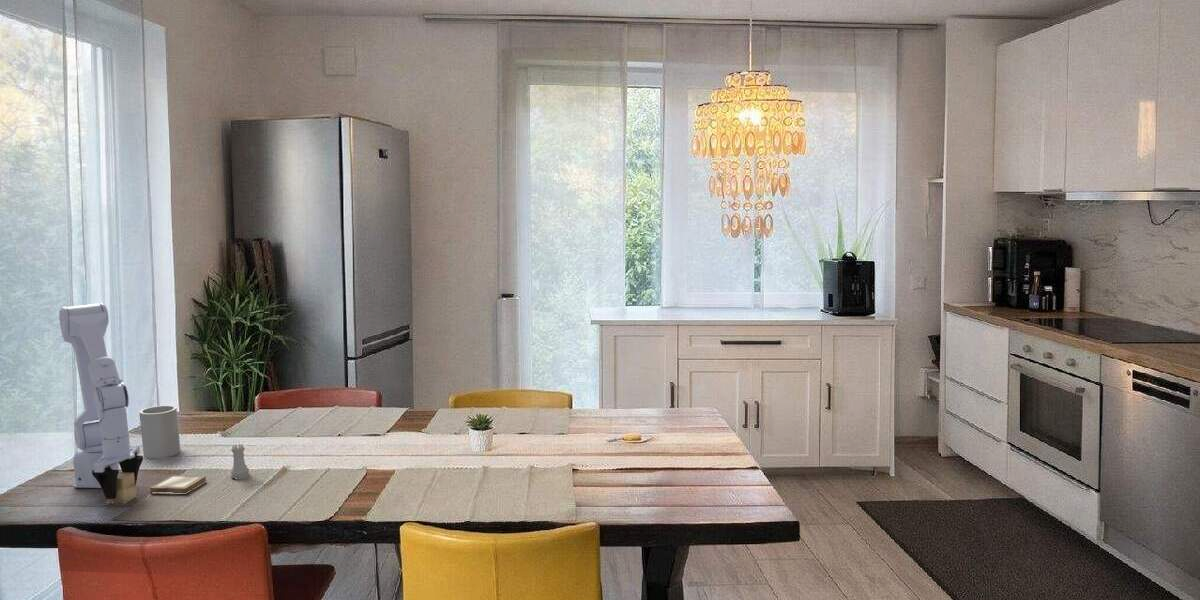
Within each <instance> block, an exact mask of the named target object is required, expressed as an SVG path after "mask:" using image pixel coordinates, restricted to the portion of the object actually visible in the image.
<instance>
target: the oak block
mask: <svg viewBox="0 0 1200 600" xmlns="http://www.w3.org/2000/svg"><path fill="white" fill-rule="evenodd" d="M135 497H136V498H137V491H136V487H135V478H134V473H132V472H122V471H119V473H118V476H117V481H116V498H115V499H106V498H105V499H106V503H107V502H108V503H107V504H117V503H125V502H127V501H129V500H130V501H132V500H134V499H135ZM133 498H134V499H133ZM131 499H132V500H131ZM130 501H129V502H130ZM112 502H113V503H112ZM127 503H128V502H127ZM125 504H126V503H125Z"/></svg>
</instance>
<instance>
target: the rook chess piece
mask: <svg viewBox="0 0 1200 600" xmlns="http://www.w3.org/2000/svg"><path fill="white" fill-rule="evenodd" d="M230 450H231V452H232V453H233V454H232V457H233V462H232V463H233V465H232V469H231V470H230V474H231V475H230V478H231V477H232V478H231V479H233V478H237V479H236V480H240V479H239V478H244V479H246V478H245V477H247V476H248V477H249V476H250V472H249V471H250V469H249V468H248V467H247V465H246V461H245V452H244V451H245V450H246V448H245V447H244V444H243V443H242V444H240V443H238V445H237V444H234V445H232V448H231V449H230ZM248 477H247V478H248Z"/></svg>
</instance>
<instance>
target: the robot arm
mask: <svg viewBox="0 0 1200 600" xmlns="http://www.w3.org/2000/svg"><path fill="white" fill-rule="evenodd" d="M58 314H59V315H58V316H59V325H60V331H61V336H62V338H63V342H65V343H68V344H71V345H72V349H73V351H74V354H75V361H76V366H77V372H78V380H79V385H80V389H81V396H82V402H83V407H84V410H83V411H82V412H81V413H80V414H79V415H77V416H76V417H75V419H74V421H73V426H74V434H73V435H74V440H75V444H76V447H77V449H78V450H76V451H75V453H74V456H73V459H72V460H73V461H72V462H73V472H74V480H75V484H74V485H73V488H79V489H80V488H83V489H93V488H94V489H101V490H102V493H103V494H104V497H105V499H115V498H116V481H117V476H118V473H119V472H120V470H121V472H132V473H134V478H135V488H136V486H137V481H138V474H139V470H140V467H141V465H142V463H143V461H144V455H139V454H141V448H140V445H130V435H129V426H128V425H129V424H128V423H129V422H128V414H127V408H128V407H129V400H130V398H129V391H128V388H127V386H126V383H125V382H124V381H123V379H120V376H119V373H118V369H117V366H116V363H115V360H114V359H112V358H110V357H109V356H108V354H107V349H106V343H105V338H104V337H105V334H106V333H107V328H108V325H109V311H108V308H107V305H105V304H104V303H103V302H99V303H92V304H84V305H75V306H62V307H61V308H60V309H59V312H58ZM98 420H99V421H98ZM87 422H88V423H87Z"/></svg>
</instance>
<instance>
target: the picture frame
mask: <svg viewBox="0 0 1200 600" xmlns="http://www.w3.org/2000/svg"><path fill="white" fill-rule="evenodd" d="M206 477H207V476H206V475H170V476H168V477H166V478H165V479H163V480H162V481H159V482H158V483H156V484H154V485H152V486H151V487H150V488H149V490H150V494H151V493H152V492H173V493H187V492H188V491H190V490H192V489H193V488H195V487H197V486H198V485H200V484H202V483H204V482H205V481H206V482H207V478H206ZM204 484H205V483H204ZM202 485H203V484H202Z"/></svg>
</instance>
